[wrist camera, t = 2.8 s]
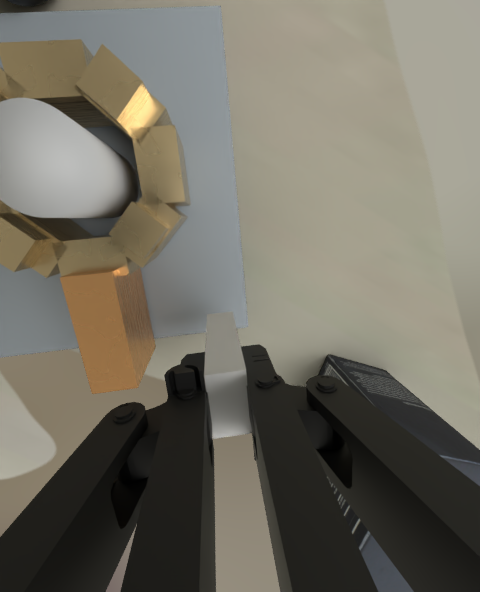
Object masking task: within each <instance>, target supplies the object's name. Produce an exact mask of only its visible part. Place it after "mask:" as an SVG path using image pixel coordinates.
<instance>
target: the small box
mask: <svg viewBox="0 0 480 592" xmlns="http://www.w3.org/2000/svg"><path fill="white" fill-rule="evenodd" d="M320 375H328V376H332V377H336V378H338V379H339V380H341V381H343V382H344V383H345V384H347V385H348V386H349V387H351V388H352V389H353V390H355V391H356V392H357V393H358V394H360V395H361V396H362V397H364V398H365V399H366V400H368V401H369V402H370V403H372V404H373V405H374V406H375V407H377V408H378V409H379V410H381V411H382V412H383V413H385V414H386V415H387V416H389V417H390V418H391V419H392V420H394V421H395V422H396V423H398V424H399V425H400V426H402V427H403V428H404V429H406V430H407V431H408V432H410V433H411V434H412V435H413V436H415V437H416V438H417V439H419V440H420V441H421V442H423V443H424V444H425V445H427V446H428V447H429V448H430V449H432V450H433V451H434V452H436V453H437V454H438V455H440V456H441V457H442V458H444V459H445V460H446V461H447V462H449V463H450V464H451V465H453V466H454V467H455V468H457V469H458V470H459V471H461V472H462V473H463V474H464V475H466V476H467V477H468V478H470V479H471V480H472V481H474V482H475V483H476V484H478V485H479V486H480V450H479V449H478V448H477V447H475V446H474V445H473V444H472V443H471V442H470V441H468V440H467V439H466V438H465V437H463V436H462V435H461V434H460V433H459V432H458V431H456V430H455V429H454V428H453V427H451V426H450V425H449V424H448V423H447V422H446V421H444V420H443V419H442V418H441V417H440V416H438V415H437V414H436V413H435V412H434V411H433V410H431V409H430V408H429V407H428V406H427V405H425V404H424V403H423V402H422V401H421V400H420V399H419V398H417V397H416V396H415V395H414V394H413V393H411V392H410V391H409V390H408V389H407V388H406V387H404V386H403V385H402V384H401V383H399V382H398V381H397V380H396V379H395V378H394V377H392V376H391V375H390V374H389V373H388V372H387V371H385V370H382V369H379V368H376V367H372V366H369V365H365V364H362V363H358V362H354V361H351V360H347V359H344V358H340V357H337V356H333V355H328V356H327V358H326V360H325V362H324V364H323V367H322V369H321V371H320V373H319V375H318V376H320ZM326 476H327V475H326ZM327 478H328V476H327ZM328 480H329V483H330V485H331V487H332V489H333V491H334V494H335V496H336V498H337V500H338V503H339V505H340V507H341V509H342V512H343V514H344V516H345V518H346V520H347V523H348V525H349V527H350V529H351V532H352V534H353V536H354V538H355V541H356V543H357V545H358V547H359V549H360V552H361V554H362V556H363V558H364V561H365V563H366V565H367V567H368V570H369V572H370V574H371V576H372V578H373V581H374V583H375V585H376V587H377V590H378V592H414V591H413V590H412V588H411V587H410V586H409V584H408V583H407V582H406V580H405V579H404V578H403V576H402V575H401V574H400V572H399V571H398V570H397V568H396V567H395V566H394V564H393V563H392V562H391V560H390V559H389V558H388V556H387V555H386V554H385V552H384V551H383V550H382V548H381V547H380V546H379V544H378V543H377V542H376V540H375V539H374V538H373V536H372V535H371V534H370V532H369V531H368V530H367V528H366V527H365V526H364V524H363V523H362V522H361V520H360V519H359V518H358V516H357V515H356V514H355V512H354V511H353V510H352V508H351V507H350V506H349V504H348V503H347V502H346V500H345V499H344V498H343V496H342V495H341V494H340V492H339V491H338V490H337V488H336V487H335V486H334V484H333V483H332V482H331V480H330V479H329V478H328Z"/></svg>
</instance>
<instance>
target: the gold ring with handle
mask: <svg viewBox="0 0 480 592" xmlns="http://www.w3.org/2000/svg"><path fill="white" fill-rule="evenodd" d="M0 57H1V61H2V65H3V68H4V69H3V68H2V67H0V102H1V101H4V100H7V99H12V98H30V99H35V100H39V101H42V102H44V103H47V104H49V105H51V106H53V107H55V108H56V109H58V110H59V111H61V112H62V113H64V114H65V115H66V116H68V117H69V118H71V119H72V120H73V121H75V122H76V123H78V124H79V125H80V126H82V127H83V128H88V127H104V126H115V127H116V128H117V129H118V130H119V131H121V132H122V133H123V134H124V135H125V136H126V137H128V138H129V139H130V140H131V141H132V142H133V146H134V152H135V158H136V163H137V169H138V175H139V180H140V186H141V192H142V197H141V198H140V200H139V201H138V202H133V201H132V202H131V203H130V205H129V206H128V207H127V209H126V210H125V212H124V213H123V214H122V216H121V217H120V218H119V220H118V221H117V223H116V224H115V225H114V227H113V228H112V230H111V231H110V232H109V235H103V236H93V235H91V234H90V233H89V232H87V231H86V230H85V229H83V228H82V227H80V226H79V225H78V224H76V223H75V222H74V221H72V220H71V219H69V218H41V217H34V216H29V215H26V214H23V213H21V212H19V211H16V210H14V209H13V208H11V207H9V206H8V205H6V204H5V203H4V202H2V201H1V200H0V264H2V265H3V266H5V267H6V268H8V269H9V270H11V271H13V272H17V271H21V270H24V269H28V268H32V269H34V270H35V271H37V272H38V273H40V274H41V275H43V276H44V277H46V278H48V277H51V276H54V275H56V274H59V273H60V274H61V277H60V281H61V284H62V288H63V291H64V295H65V299H66V302H67V306H68V309H69V313H70V316H71V320H72V324H73V327H74V331H75V334H76V338H77V342H78V345H79V349H80V352H81V356H82V359H83V363H84V366H85V370H86V374H87V377H88V381H89V384H90V388H91V392H92V394H96V393H104V392H111V391H118V390H126V389H133V388H138V386H139V384H140V382H141V379H142V377H143V375H144V372H145V370H146V368H147V365H148V363H149V361H150V359H151V356H152V354H153V352H154V349H155V347H156V346H155V341H154V335H153V330H152V325H151V320H150V315H149V310H148V304H147V299H146V294H145V289H144V284H143V278H142V273H141V268H140V267H142V268H143V267H145V266H146V265H147V264H149V263H150V262H152V261H153V260H154V259H156V258H157V257H158V256H159V254H160V253H161V252H162V250H163V249H164V248H165V246H166V245H167V244H168V242H169V241H170V240H171V239H172V237H173V236H174V235H175V233H176V232H177V231H178V229H179V228H180V227H181V226H182V224H183V223H184V222H185V220H186V219H187V218H188V217H187V216H186V215H185V214H183V213H182V212H181V211H180V210H179V209H177V208H176V207H177V206H188V205H191V202H190V195H189V187H188V180H187V172H186V164H185V157H184V149H183V145H182V143H181V140H180V137H179V135H178V132H177V129H176V127H175V125H173V124H172V122H171V119H170V117H169V114H168V112H167V109H166V107H165V106H164V105H162V104H161V103H160V102H159V101H158V100H157V99H156V98H155V97H154V96H153V95H152V94H151V93H149V92H148V91H147V89H146V87H145V85H144V83H143V81H142V80H141V79H140V78H139V77H138V76H137V75H136V74H135V73H133V72H132V71H131V70H130V69H129V68H128V67H127V66H126V65H125V64H124V63H123V62H122V61H121V60H119V59H118V58H117V57H116V56H115V55H114V54H113V53H112V52H111V51H110V50H109V49H108V48H107V47H106V46H104V45H103V44H102V45H101V46H100V48H99V49H98V51H97V53H96V54H95V56H93V55H92V54H91V52H90V51H89V49H88V48H87V47H86V45H85V44H84V43H83V41H82V40H81V39H73V40H49V41H25V42H1V43H0Z"/></svg>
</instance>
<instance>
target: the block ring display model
mask: <svg viewBox="0 0 480 592" xmlns="http://www.w3.org/2000/svg"><path fill="white" fill-rule="evenodd" d="M73 39H81V40H82V41H83V43H84V44H85V45H86V47H87V48H88V49H89V51H90V52H91V54H92V55H93V56H95V54H96V53H97V51H98V49H99V48H100V46H101V45H102V44H103V45H104V46H106V47H107V48H108V49H109V50H110V51H111V52H112V53H113V54H114V55H115V56H116V57H117V58H118V59H119V60H121V61H122V62H123V63H124V64H125V65H126V66H127V67H128V68H129V69H130V70H131V71H132V72H133V73H135V74H136V75H137V76H138V77H139V78H140V79H141V80H142V81H143V83H144V85H145V87H146V89H147V91H148V92H149V93H151V94H152V95H153V96H154V97H155V98H156V99H157V100H158V101H159V102H160V103H161V104H162V105H164V106H165V107H166V109H167V112H168V114H169V117H170V119H171V122H172V124H173V125H175V127H176V129H177V132H178V135H179V137H180V140H181V143H182V145H183V149H184V157H185V164H186V172H187V180H188V187H189V195H190V202H191V205H188V206H177V207H176V208H177V209H179V210H180V211H181V212H182V213H183V214H185V215H186V216H187V217H188V218H187V219H186V220H185V222H184V223H183V224H182V226H181V227H180V228H179V229H178V231H177V232H176V233H175V235H174V236H173V237H172V239H171V240H170V241H169V242H168V244H167V245H166V246H165V248H164V249H163V250H162V252H161V253H160V254H159V256H158V257H157V258H156V259H154V260H153V261H152V262H150V263H149V264H147V265H146V266H145V267H143V268H142V267H140V268H141V273H142V278H143V284H144V289H145V294H146V299H147V304H148V310H149V315H150V320H151V325H152V330H153V335H154V339H155V338H163V337H171V336H179V335H188V334H196V333H204V332H206V325H207V314H215V313H224V312H232V311H233V315H234V320H235V324H236V328H245V327H248V318H247V306H246V294H245V283H244V271H243V260H242V248H241V236H240V225H239V213H238V201H237V190H236V178H235V166H234V155H233V143H232V131H231V120H230V108H229V97H228V85H227V73H226V62H225V50H224V38H223V27H222V15H221V6H198V7H169V8H139V9H109V10H80V11H50V12H20V13H0V43H1V42H25V41H49V40H73ZM0 67H2V68H3V65H2V61H1V57H0ZM3 69H4V68H3ZM141 197H142V192H141V186H140V180H139V175H138V169H137V163H136V158H135V152H134V146H133V142H132V141H131V140H130V139H129V138H128V137H126V136H125V135H124V134H123V133H122V132H121V131H119V130H118V129H117V128H116V127H115V126H104V127H88V128H83V127H82V126H80V125H79V124H78V123H76V122H75V121H73V120H72V119H71V118H69V117H68V116H66V115H65V114H64V113H62V112H61V111H59V110H58V109H56V108H55V107H53V106H51V105H49V104H47V103H44V102H42V101H39V100H35V99H30V98H12V99H7V100H4V101H1V102H0V200H1V201H2V202H4V203H5V204H6V205H8V206H9V207H11V208H13V209H14V210H16V211H19V212H21V213H23V214H26V215H29V216H34V217H41V218H69V219H71V220H72V221H74V222H75V223H76V224H78V225H79V226H80V227H82V228H83V229H85V230H86V231H87V232H89V233H90V234H91V235H93V236H103V235H109V232H110V231H111V230H112V228H113V227H114V225H115V224H116V223H117V221H118V220H119V218H120V217H121V216H122V214H123V213H124V212H125V210H126V209H127V207H128V206H129V205H130V203H131V202H132V201H133V202H138V201H139V200H140V198H141ZM60 277H61V274H60V273H59V274H56V275H54V276H51V277H48V278H46V277H44V276H43V275H41V274H40V273H38V272H37V271H35V270H34V269H32V268H28V269H24V270H21V271H17V272H13V271H11V270H9V269H8V268H6V267H5V266H3V265H2V264H0V357H8V356H17V355H24V354H33V353H41V352H49V351H57V350H65V349H74V348H79V345H78V342H77V338H76V334H75V331H74V327H73V324H72V320H71V316H70V313H69V309H68V306H67V302H66V299H65V295H64V291H63V288H62V284H61V281H60Z"/></svg>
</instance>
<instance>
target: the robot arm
mask: <svg viewBox="0 0 480 592" xmlns="http://www.w3.org/2000/svg"><path fill="white" fill-rule="evenodd" d="M164 376H165V381H166V387H167V392H168V399H167V402H165V403H163V404H162V405H160V406H157V407H155V408H152V409H149V410H145V406H143V405H142V404H141V403H136V402H132V403H126V404H122V405H120V406H118V407H116V408H114V409H112V410H111V411H110V412H109V413H108V414H107V415H106V416H105V417H104V418H103V419H102V420H101V421H100V423H99V424H98V425H97V426H96V427H95V428H94V429H93V431H92V432H91V433H90V434H89V435H88V436H87V438H86V439H85V440H84V441H83V442H82V443H81V444H80V446H79V447H78V448H77V449H76V450H75V451H74V453H73V454H72V455H71V456H70V457H69V459H68V460H67V461H66V462H65V463H64V464H63V465H62V466H61V468H60V469H59V470H58V471H57V472H56V473H55V475H54V476H53V477H52V478H51V479H50V480H49V482H48V483H47V484H46V485H45V486H44V487H43V488H42V490H41V491H40V492H39V493H38V494H37V495H36V496H35V498H34V499H33V500H32V501H31V502H30V503H29V505H28V506H27V507H26V508H25V509H24V510H23V511H22V513H21V514H20V515H19V516H18V517H17V518H16V520H15V521H14V522H13V523H12V524H11V525H10V527H9V528H8V529H7V530H6V531H5V532H4V534H3V535H2V536H1V537H0V592H106V589H107V587H108V585H109V583H110V580H111V579H112V576H113V574H114V572H115V570H116V568H117V566H118V563H119V561H120V559H121V557H122V555H123V553H124V550H125V548H126V546H127V544H128V542H129V540H130V537H131V535H132V533H133V531H134V529H135V527H136V524H137V527H136V530H135V534H134V539H133V543H132V547H131V551H130V555H129V559H128V563H127V567H126V571H125V575H124V580H123V584H122V588H121V592H216V577H215V576H216V574H215V571H216V570H215V503H214V502H215V497H214V447H213V440H212V435H213V439H215V438H222V437H229V436H236V435H242V434H249V433H252V436H253V445H254V457H255V460H256V461H257V467H258V472H259V478H260V483H261V489H262V494H263V499H264V504H265V510H266V515H267V521H268V527H269V532H270V538H271V543H272V548H273V554H274V559H275V565H276V570H277V575H278V581H279V586H280V591H281V592H378V590H377V587H376V585H375V583H374V581H373V578H372V576H371V574H370V572H369V570H368V567H367V565H366V563H365V561H364V558H363V556H362V554H361V552H360V549H359V547H358V545H357V543H356V541H355V538H354V536H353V534H352V532H351V529H350V527H349V525H348V523H347V520H346V518H345V516H344V514H343V512H342V509H341V507H340V505H339V503H338V500H337V498H336V496H335V494H334V491H333V489H332V487H331V485H330V483H329V480H328V478H329V479H330V480H331V482H332V483H333V484H334V486H335V487H336V488H337V490H338V491H339V492H340V494H341V495H342V496H343V498H344V499H345V500H346V502H347V503H348V504H349V506H350V507H351V508H352V510H353V511H354V512H355V514H356V515H357V516H358V518H359V519H360V520H361V522H362V523H363V524H364V526H365V527H366V528H367V530H368V531H369V532H370V534H371V535H372V536H373V538H374V539H375V540H376V542H377V543H378V544H379V546H380V547H381V548H382V550H383V551H384V552H385V554H386V555H387V556H388V558H389V559H390V560H391V562H392V563H393V564H394V566H395V567H396V568H397V570H398V571H399V572H400V574H401V575H402V576H403V578H404V579H405V580H406V582H407V583H408V584H409V586H410V587H411V588H412V590H413V591H414V592H480V486H479V485H478V484H476V483H475V482H474V481H472V480H471V479H470V478H468V477H467V476H466V475H464V474H463V473H462V472H461V471H459V470H458V469H457V468H455V467H454V466H453V465H451V464H450V463H449V462H447V461H446V460H445V459H444V458H442V457H441V456H440V455H438V454H437V453H436V452H434V451H433V450H432V449H430V448H429V447H428V446H427V445H425V444H424V443H423V442H421V441H420V440H419V439H417V438H416V437H415V436H413V435H412V434H411V433H410V432H408V431H407V430H406V429H404V428H403V427H402V426H400V425H399V424H398V423H396V422H395V421H394V420H392V419H391V418H390V417H389V416H387V415H386V414H385V413H383V412H382V411H381V410H379V409H378V408H377V407H375V406H374V405H373V404H372V403H370V402H369V401H368V400H366V399H365V398H364V397H362V396H361V395H360V394H358V393H357V392H356V391H355V390H353V389H352V388H351V387H349V386H348V385H347V384H345V383H344V382H343V381H341V380H339V379H338V378H336V377H332V376H328V375H320V376H314V377H312V378H310V379H309V380H308V381H307V386H306V387H300V386H292V385H288V384H286V383H285V382H284V380H283V379H282V377H281V376H279V375H277V374H276V372H275V370H274V367H273V365H272V363H271V360H270V358H269V356H268V353H267V351H266V349H265V348H264V347H262V346H261V345H251V346H243V347H241V345H240V341H239V337H238V333H237V328H236V324H235V320H234V315H233V311H232V312H224V313H215V314H207V325H206V346H205V352H202V353H194V354H187V355H186V356H185V357H184V358H183V359H182V360H181V364H180V365H177V366H175V367H173V368H171V369H170V370H168V371H167V372H166V374H165V375H164ZM326 475H327V476H328V478H327V476H326Z"/></svg>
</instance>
